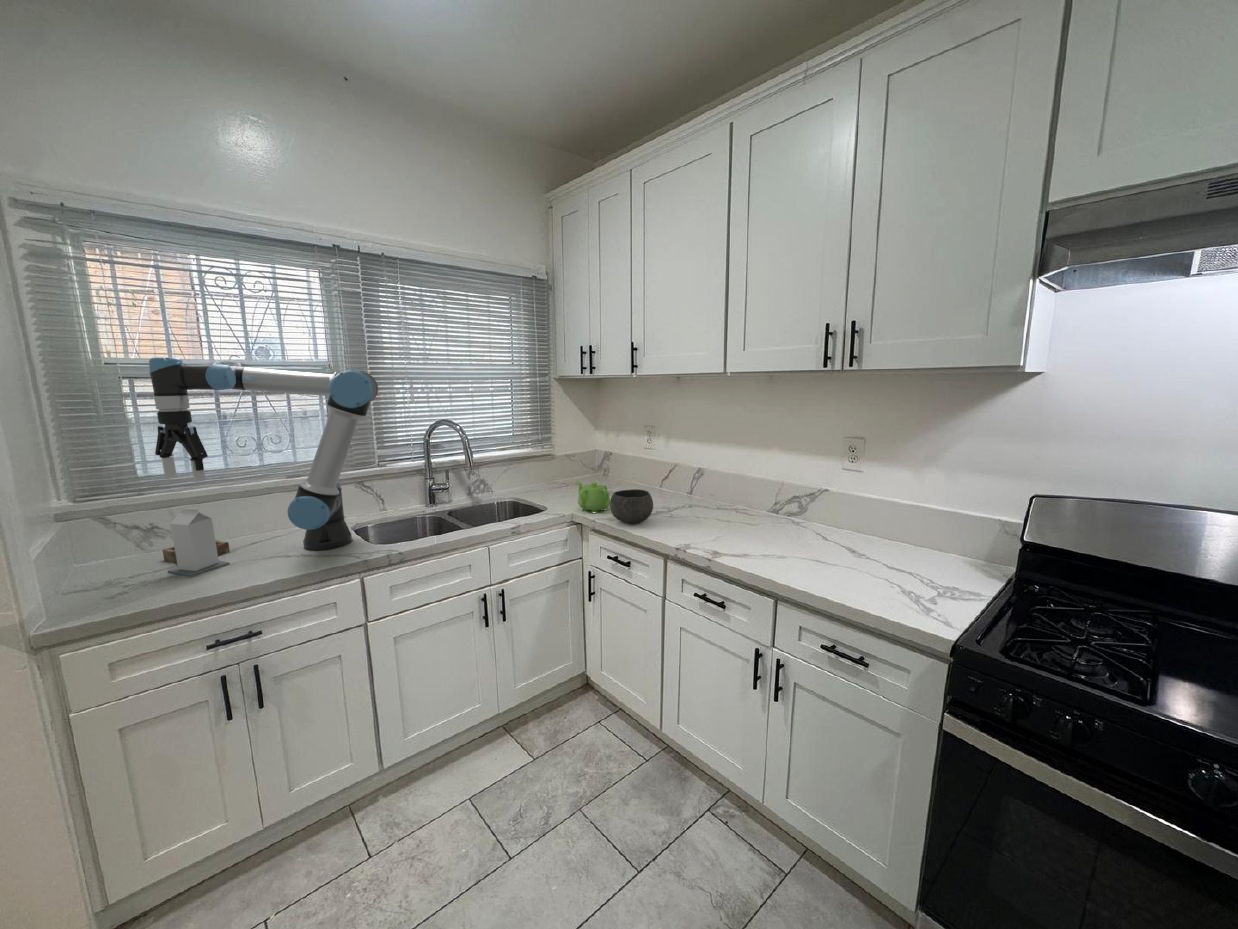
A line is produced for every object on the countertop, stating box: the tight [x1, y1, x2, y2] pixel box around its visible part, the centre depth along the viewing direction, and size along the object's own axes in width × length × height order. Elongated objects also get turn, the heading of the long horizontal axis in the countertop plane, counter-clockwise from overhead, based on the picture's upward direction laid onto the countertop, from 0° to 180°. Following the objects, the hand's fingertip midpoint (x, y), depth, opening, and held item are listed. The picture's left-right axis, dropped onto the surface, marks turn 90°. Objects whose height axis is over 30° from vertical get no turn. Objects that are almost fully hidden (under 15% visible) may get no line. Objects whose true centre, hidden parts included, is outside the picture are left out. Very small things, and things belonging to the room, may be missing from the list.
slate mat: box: [167, 560, 230, 578], centre depth 154 cm, size 11×11×1 cm
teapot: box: [575, 480, 611, 513], centre depth 219 cm, size 16×14×13 cm
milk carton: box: [170, 507, 220, 571], centre depth 152 cm, size 7×7×19 cm
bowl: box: [609, 488, 654, 525], centre depth 200 cm, size 18×18×13 cm
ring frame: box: [162, 539, 231, 563], centre depth 165 cm, size 12×12×4 cm
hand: (185, 479), depth 149 cm, fingers open, 13 cm apart
